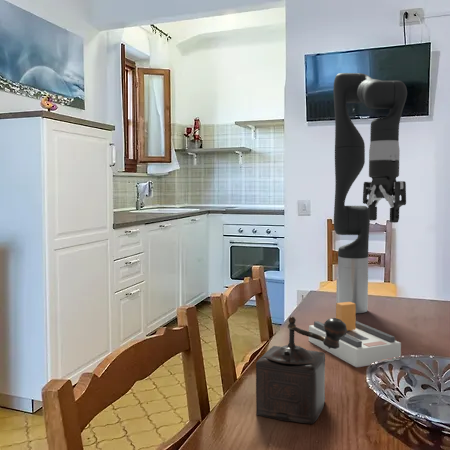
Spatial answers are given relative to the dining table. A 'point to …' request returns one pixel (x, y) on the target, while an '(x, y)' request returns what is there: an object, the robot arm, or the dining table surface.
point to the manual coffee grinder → (295, 376)
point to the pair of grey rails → (364, 328)
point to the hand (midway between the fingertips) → (383, 221)
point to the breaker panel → (363, 355)
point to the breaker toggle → (347, 314)
